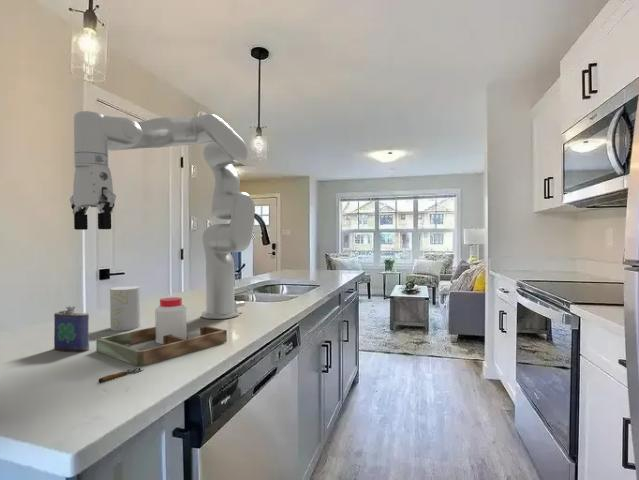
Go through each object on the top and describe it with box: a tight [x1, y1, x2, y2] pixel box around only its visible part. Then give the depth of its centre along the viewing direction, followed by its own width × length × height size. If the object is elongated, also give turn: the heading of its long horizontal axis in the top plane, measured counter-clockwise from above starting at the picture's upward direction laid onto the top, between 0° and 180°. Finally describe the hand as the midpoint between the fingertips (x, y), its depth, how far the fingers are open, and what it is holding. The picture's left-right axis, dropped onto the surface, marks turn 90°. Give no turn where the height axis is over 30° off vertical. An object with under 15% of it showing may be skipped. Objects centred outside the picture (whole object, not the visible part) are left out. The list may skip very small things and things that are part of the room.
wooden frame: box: [95, 325, 228, 367], centre depth 100 cm, size 24×19×3 cm
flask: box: [53, 305, 90, 353], centre depth 97 cm, size 9×3×11 cm, turn 78°
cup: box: [109, 285, 141, 332], centre depth 120 cm, size 8×8×12 cm
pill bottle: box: [154, 296, 188, 345], centre depth 106 cm, size 8×8×11 cm
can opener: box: [97, 366, 145, 384], centre depth 80 cm, size 9×2×1 cm, turn 142°
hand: (92, 229), depth 102 cm, fingers open, 9 cm apart
